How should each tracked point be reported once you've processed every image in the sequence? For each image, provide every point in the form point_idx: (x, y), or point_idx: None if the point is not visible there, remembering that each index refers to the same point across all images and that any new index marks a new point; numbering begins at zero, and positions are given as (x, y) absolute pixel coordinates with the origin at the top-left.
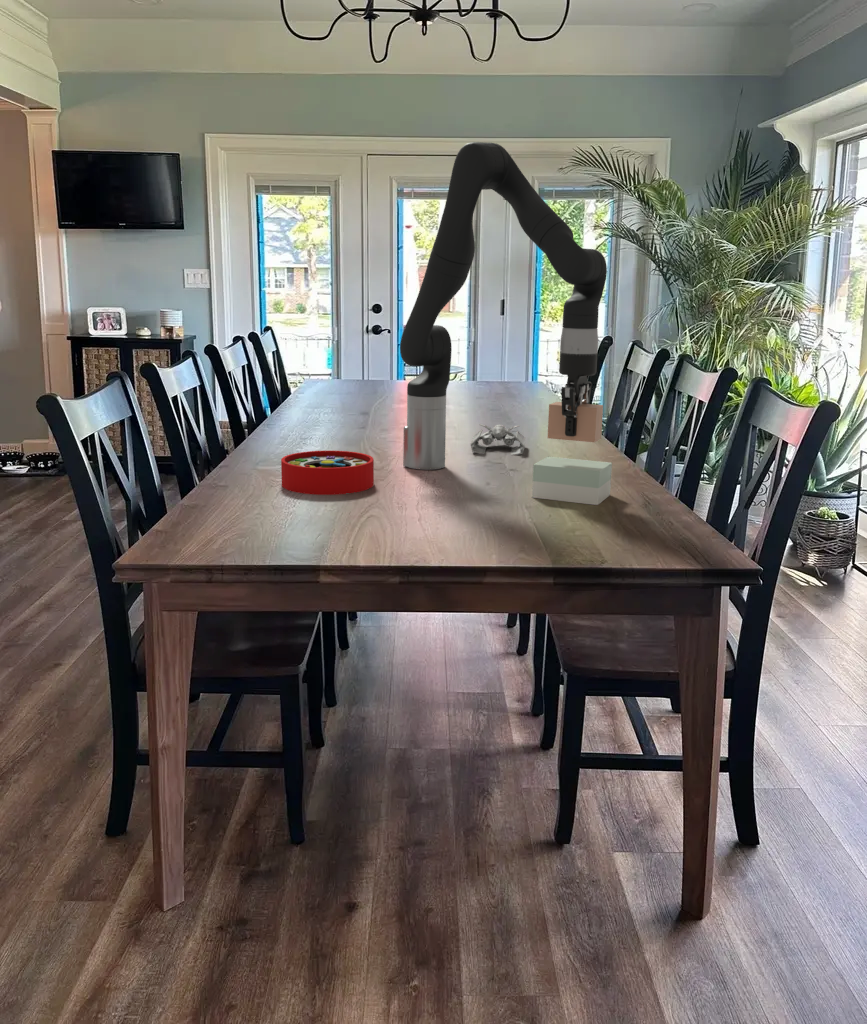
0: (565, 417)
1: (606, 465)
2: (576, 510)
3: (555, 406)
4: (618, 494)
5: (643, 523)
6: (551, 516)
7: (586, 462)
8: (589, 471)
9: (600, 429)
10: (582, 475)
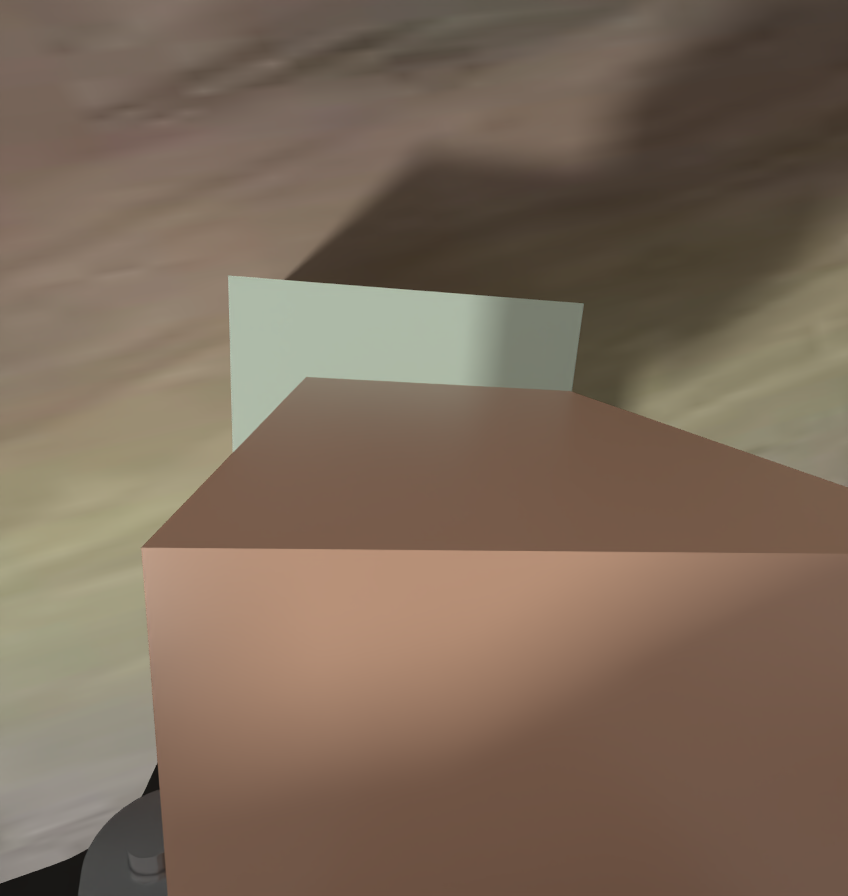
0: None
1: (361, 296)
2: (636, 377)
3: None
4: (230, 249)
5: (780, 29)
6: (757, 445)
7: None
8: (569, 373)
9: (367, 396)
10: None
